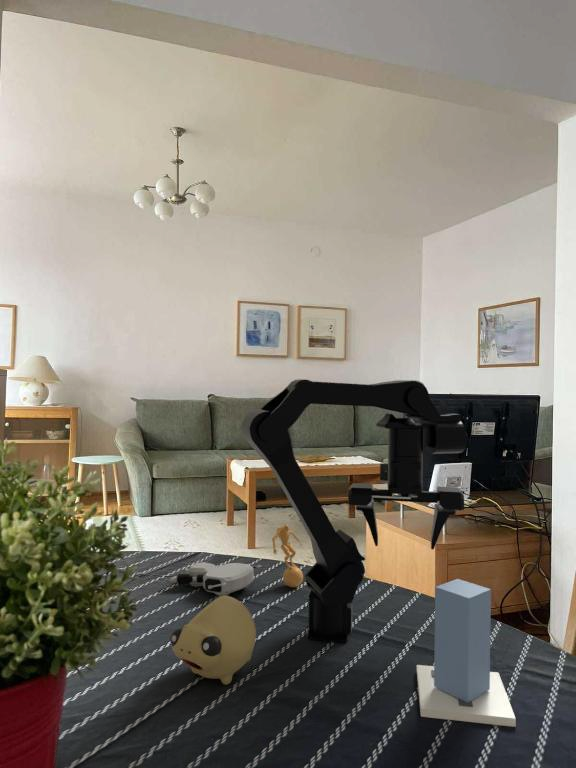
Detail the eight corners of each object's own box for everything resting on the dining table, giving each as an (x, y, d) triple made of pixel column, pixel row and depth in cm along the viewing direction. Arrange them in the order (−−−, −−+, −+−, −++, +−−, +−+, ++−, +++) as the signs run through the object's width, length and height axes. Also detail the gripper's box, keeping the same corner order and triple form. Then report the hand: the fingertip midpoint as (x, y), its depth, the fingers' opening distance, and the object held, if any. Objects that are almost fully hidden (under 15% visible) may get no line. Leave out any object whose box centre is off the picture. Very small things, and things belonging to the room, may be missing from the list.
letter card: (420, 716, 71) (420, 706, 71) (416, 671, 81) (416, 663, 81) (515, 726, 69) (515, 716, 69) (498, 679, 80) (498, 671, 80)
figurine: (287, 595, 110) (288, 532, 110) (263, 587, 114) (264, 526, 114) (313, 583, 116) (314, 524, 116) (290, 576, 120) (291, 519, 120)
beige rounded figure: (156, 687, 77) (157, 607, 77) (212, 651, 87) (213, 580, 87) (216, 709, 72) (216, 623, 72) (267, 668, 82) (268, 593, 82)
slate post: (433, 686, 75) (435, 586, 75) (456, 674, 79) (457, 578, 78) (467, 702, 72) (469, 598, 71) (489, 689, 75) (490, 589, 75)
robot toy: (165, 595, 112) (228, 605, 104) (164, 571, 112) (227, 580, 104) (205, 577, 122) (264, 585, 115) (204, 555, 123) (263, 562, 115)
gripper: (457, 450, 104) (456, 537, 104) (352, 447, 107) (351, 531, 107) (465, 459, 93) (463, 556, 93) (348, 455, 96) (347, 549, 96)
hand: (404, 547), depth 97 cm, fingers open, 9 cm apart
